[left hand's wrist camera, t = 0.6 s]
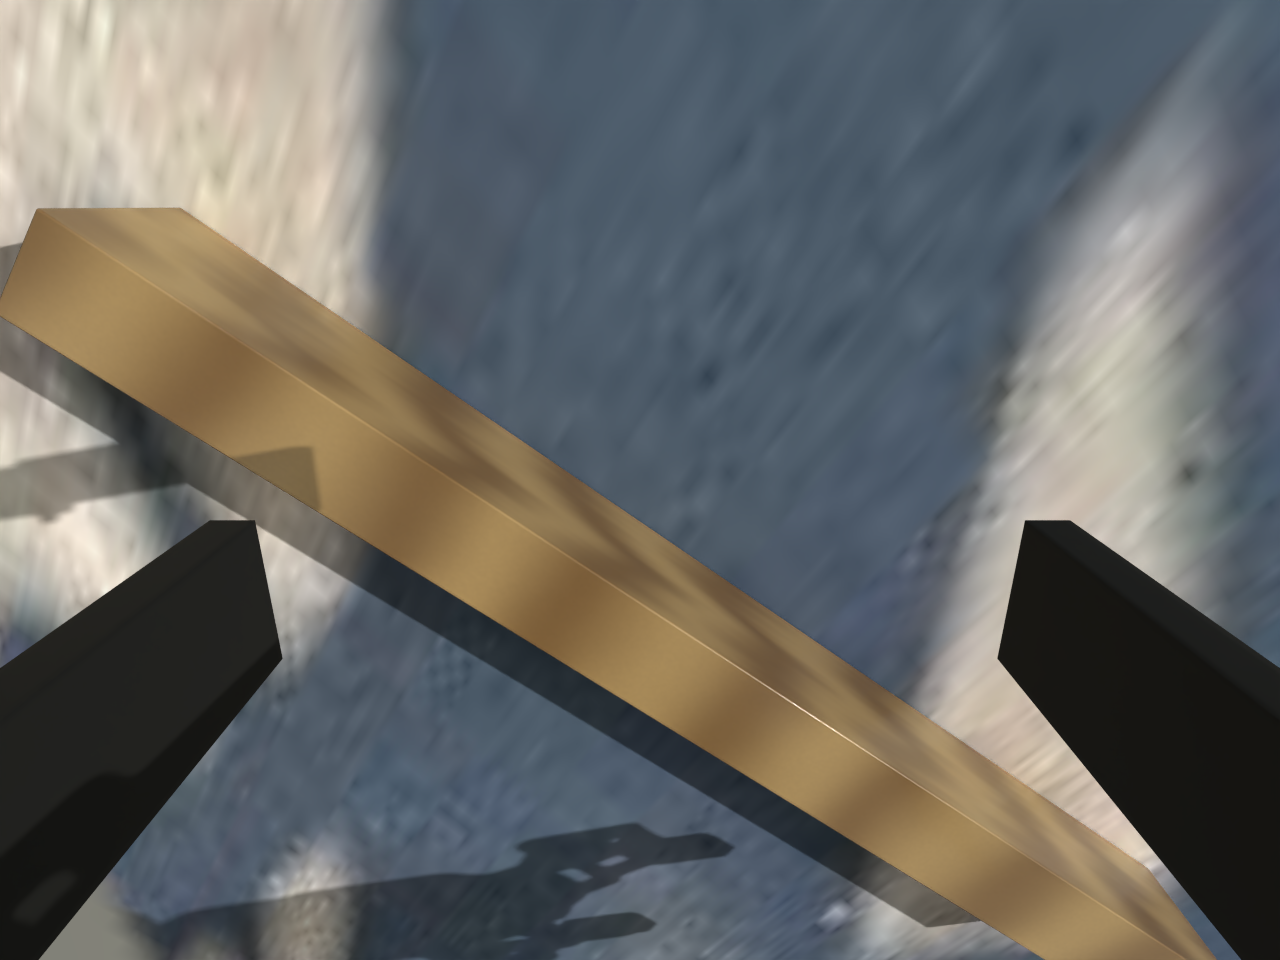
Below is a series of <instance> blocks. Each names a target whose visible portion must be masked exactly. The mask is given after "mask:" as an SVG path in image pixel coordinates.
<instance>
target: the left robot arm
mask: <svg viewBox="0 0 1280 960" xmlns="http://www.w3.org/2000/svg"><path fill="white" fill-rule="evenodd" d="M282 659H283V658H282V653H281V648H280V643H279V638H278V633H277V628H276V624H275V619H274V614H273V609H272V604H271V599H270V594H269V589H268V584H267V579H266V574H265V569H264V564H263V559H262V554H261V549H260V544H259V539H258V534H257V529H256V524H255V520H210V521H208V522H207V523H206V524H204V525H203V526H201V527H200V528H198V529H197V530H196V531H194V532H193V533H191V534H190V535H189V536H187V537H186V538H184V539H183V540H181V541H180V542H179V543H177V544H176V545H174V546H173V547H172V548H170V549H169V550H167V551H166V552H164V553H163V554H162V555H160V556H159V557H157V558H156V559H154V560H153V561H152V562H150V563H149V564H147V565H146V566H145V567H143V568H142V569H140V570H139V571H137V572H136V573H135V574H133V575H132V576H130V577H129V578H128V579H126V580H125V581H123V582H122V583H120V584H119V585H118V586H116V587H115V588H113V589H112V590H111V591H109V592H108V593H106V594H105V595H103V596H102V597H101V598H99V599H98V600H96V601H95V602H93V603H92V604H91V605H89V606H88V607H86V608H85V609H84V610H82V611H81V612H79V613H78V614H76V615H75V616H74V617H72V618H71V619H69V620H68V621H67V622H65V623H64V624H62V625H61V626H59V627H58V628H57V629H55V630H54V631H52V632H51V633H49V634H48V635H47V636H45V637H44V638H42V639H41V640H40V641H38V642H37V643H35V644H34V645H32V646H31V647H30V648H28V649H27V650H25V651H24V652H23V653H21V654H20V655H18V656H17V657H15V658H14V659H13V660H11V661H10V662H8V663H7V664H6V665H4V666H3V667H1V668H0V960H39V959H40V957H41V956H42V955H43V954H44V952H45V951H46V950H47V949H48V947H49V946H50V945H51V944H52V943H53V941H54V940H55V939H56V938H57V936H58V935H59V934H60V933H61V931H62V930H63V929H64V928H65V926H66V925H67V924H68V923H69V922H70V920H71V919H72V918H73V917H74V915H75V914H76V913H77V912H78V910H79V909H80V908H81V907H82V905H83V904H84V903H85V902H86V901H87V899H88V898H89V897H90V896H91V894H92V893H93V892H94V891H95V889H96V888H97V887H98V886H99V885H100V883H101V882H102V881H103V880H104V878H105V877H106V876H107V875H108V873H109V872H110V871H111V870H112V868H113V867H114V866H115V865H116V864H117V862H118V861H119V860H120V859H121V857H122V856H123V855H124V854H125V852H126V851H127V850H128V849H129V847H130V846H131V845H132V844H133V843H134V841H135V840H136V839H137V838H138V836H139V835H140V834H141V833H142V831H143V830H144V829H145V828H146V826H147V825H148V824H149V823H150V822H151V820H152V819H153V818H154V817H155V815H156V814H157V813H158V812H159V810H160V809H161V808H162V807H163V806H164V804H165V803H166V802H167V801H168V799H169V798H170V797H171V796H172V794H173V793H174V792H175V791H176V789H177V788H178V787H179V786H180V785H181V783H182V782H183V781H184V780H185V778H186V777H187V776H188V775H189V773H190V772H191V771H192V770H193V768H194V767H195V766H196V765H197V764H198V762H199V761H200V760H201V759H202V757H203V756H204V755H205V754H206V752H207V751H208V750H209V749H210V747H211V746H212V745H213V744H214V743H215V741H216V740H217V739H218V738H219V736H220V735H221V734H222V733H223V731H224V730H225V729H226V728H227V727H228V725H229V724H230V723H231V722H232V720H233V719H234V718H235V717H236V715H237V714H238V713H239V712H240V710H241V709H242V708H243V707H244V706H245V704H246V703H247V702H248V701H249V699H250V698H251V697H252V696H253V694H254V693H255V692H256V691H257V689H258V688H259V687H260V686H261V685H262V683H263V682H264V681H265V680H266V678H267V677H268V676H269V675H270V673H271V672H272V671H273V670H274V668H275V667H276V666H277V665H278V664H279V662H280V661H281V660H282ZM997 659H998V660H999V661H1000V662H1001V664H1002V665H1003V666H1004V667H1005V668H1006V670H1007V671H1008V672H1009V673H1010V675H1011V676H1012V677H1013V678H1014V680H1015V681H1016V682H1017V683H1018V685H1019V686H1020V687H1021V688H1022V689H1023V691H1024V692H1025V693H1026V694H1027V696H1028V697H1029V698H1030V699H1031V701H1032V702H1033V703H1034V704H1035V706H1036V707H1037V708H1038V709H1039V710H1040V712H1041V713H1042V714H1043V715H1044V717H1045V718H1046V719H1047V720H1048V722H1049V723H1050V724H1051V725H1052V727H1053V728H1054V729H1055V730H1056V731H1057V733H1058V734H1059V735H1060V736H1061V738H1062V739H1063V740H1064V741H1065V743H1066V744H1067V745H1068V746H1069V747H1070V749H1071V750H1072V751H1073V752H1074V754H1075V755H1076V756H1077V757H1078V759H1079V760H1080V761H1081V762H1082V764H1083V765H1084V766H1085V767H1086V768H1087V770H1088V771H1089V772H1090V773H1091V775H1092V776H1093V777H1094V778H1095V780H1096V781H1097V782H1098V783H1099V785H1100V786H1101V787H1102V788H1103V789H1104V791H1105V792H1106V793H1107V794H1108V796H1109V797H1110V798H1111V799H1112V801H1113V802H1114V803H1115V804H1116V806H1117V807H1118V808H1119V809H1120V810H1121V812H1122V813H1123V814H1124V815H1125V817H1126V818H1127V819H1128V820H1129V822H1130V823H1131V824H1132V825H1133V826H1134V828H1135V829H1136V830H1137V831H1138V833H1139V834H1140V835H1141V836H1142V838H1143V839H1144V840H1145V841H1146V843H1147V844H1148V845H1149V846H1150V847H1151V849H1152V850H1153V851H1154V852H1155V854H1156V855H1157V856H1158V857H1159V859H1160V860H1161V861H1162V862H1163V864H1164V865H1165V866H1166V867H1167V868H1168V870H1169V871H1170V872H1171V873H1172V875H1173V876H1174V877H1175V878H1176V880H1177V881H1178V882H1179V883H1180V885H1181V886H1182V887H1183V888H1184V889H1185V891H1186V892H1187V893H1188V894H1189V896H1190V897H1191V898H1192V899H1193V901H1194V902H1195V903H1196V904H1197V905H1198V907H1199V908H1200V909H1201V910H1202V912H1203V913H1204V914H1205V915H1206V917H1207V918H1208V919H1209V920H1210V922H1211V923H1212V924H1213V925H1214V926H1215V928H1216V929H1217V930H1218V931H1219V933H1220V934H1221V935H1222V936H1223V938H1224V939H1225V940H1226V941H1227V943H1228V944H1229V945H1230V946H1231V947H1232V949H1233V950H1234V951H1235V952H1236V954H1237V955H1238V956H1239V957H1240V959H1241V960H1280V668H1279V667H1277V666H1276V665H1274V664H1273V663H1272V662H1270V661H1269V660H1267V659H1266V658H1265V657H1263V656H1262V655H1260V654H1259V653H1257V652H1256V651H1255V650H1253V649H1252V648H1250V647H1249V646H1248V645H1246V644H1245V643H1243V642H1242V641H1240V640H1239V639H1238V638H1236V637H1235V636H1233V635H1232V634H1230V633H1229V632H1228V631H1226V630H1225V629H1223V628H1222V627H1221V626H1219V625H1218V624H1216V623H1215V622H1213V621H1212V620H1211V619H1209V618H1208V617H1206V616H1205V615H1204V614H1202V613H1201V612H1199V611H1198V610H1196V609H1195V608H1194V607H1192V606H1191V605H1189V604H1188V603H1187V602H1185V601H1184V600H1182V599H1181V598H1179V597H1178V596H1177V595H1175V594H1174V593H1172V592H1171V591H1169V590H1168V589H1167V588H1165V587H1164V586H1162V585H1161V584H1160V583H1158V582H1157V581H1155V580H1154V579H1152V578H1151V577H1150V576H1148V575H1147V574H1145V573H1144V572H1143V571H1141V570H1140V569H1138V568H1137V567H1135V566H1134V565H1133V564H1131V563H1130V562H1128V561H1127V560H1126V559H1124V558H1123V557H1121V556H1120V555H1118V554H1117V553H1116V552H1114V551H1113V550H1111V549H1110V548H1108V547H1107V546H1106V545H1104V544H1103V543H1101V542H1100V541H1099V540H1097V539H1096V538H1094V537H1093V536H1091V535H1090V534H1089V533H1087V532H1086V531H1084V530H1083V529H1082V528H1080V527H1079V526H1077V525H1076V524H1074V523H1073V522H1072V521H1070V520H1025V524H1024V529H1023V534H1022V539H1021V544H1020V549H1019V554H1018V559H1017V564H1016V569H1015V574H1014V579H1013V584H1012V589H1011V594H1010V599H1009V604H1008V609H1007V614H1006V619H1005V623H1004V628H1003V633H1002V638H1001V643H1000V648H999V653H998V658H997Z"/></svg>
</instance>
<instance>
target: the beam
mask: <svg viewBox="0 0 1280 960" xmlns="http://www.w3.org/2000/svg"><path fill="white" fill-rule="evenodd" d="M0 317H2V318H4V319H5V320H7V321H9V322H10V323H12V324H13V325H15V326H17V327H18V328H20V329H22V330H23V331H25V332H26V333H28V334H30V335H31V336H33V337H35V338H36V339H38V340H39V341H41V342H43V343H44V344H46V345H47V346H49V347H51V348H52V349H54V350H56V351H57V352H59V353H60V354H62V355H64V356H65V357H67V358H69V359H70V360H72V361H73V362H75V363H77V364H78V365H80V366H82V367H83V368H85V369H86V370H88V371H90V372H91V373H93V374H95V375H96V376H98V377H99V378H101V379H103V380H104V381H106V382H108V383H109V384H111V385H112V386H114V387H116V388H117V389H119V390H121V391H122V392H124V393H125V394H127V395H129V396H130V397H132V398H134V399H135V400H137V401H138V402H140V403H142V404H143V405H145V406H147V407H148V408H150V409H151V410H153V411H155V412H156V413H158V414H160V415H161V416H163V417H164V418H166V419H168V420H169V421H171V422H173V423H174V424H176V425H177V426H179V427H181V428H182V429H184V430H186V431H187V432H189V433H190V434H192V435H194V436H195V437H197V438H199V439H200V440H202V441H203V442H205V443H207V444H208V445H210V446H212V447H213V448H215V449H216V450H218V451H220V452H221V453H223V454H224V455H226V456H228V457H229V458H231V459H233V460H234V461H236V462H237V463H239V464H241V465H242V466H244V467H246V468H247V469H249V470H250V471H252V472H254V473H255V474H257V475H259V476H260V477H262V478H263V479H265V480H267V481H268V482H270V483H272V484H273V485H275V486H276V487H278V488H280V489H281V490H283V491H285V492H286V493H288V494H289V495H291V496H293V497H294V498H296V499H298V500H299V501H301V502H302V503H304V504H306V505H307V506H309V507H311V508H312V509H314V510H315V511H317V512H319V513H320V514H322V515H324V516H325V517H327V518H328V519H330V520H332V521H333V522H335V523H337V524H338V525H340V526H341V527H343V528H345V529H346V530H348V531H350V532H351V533H353V534H354V535H356V536H358V537H359V538H361V539H363V540H364V541H366V542H367V543H369V544H371V545H372V546H374V547H376V548H377V549H379V550H380V551H382V552H384V553H385V554H387V555H389V556H390V557H392V558H393V559H395V560H397V561H398V562H400V563H401V564H403V565H405V566H406V567H408V568H410V569H411V570H413V571H414V572H416V573H418V574H419V575H421V576H423V577H424V578H426V579H427V580H429V581H431V582H432V583H434V584H436V585H437V586H439V587H440V588H442V589H444V590H445V591H447V592H449V593H450V594H452V595H453V596H455V597H457V598H458V599H460V600H462V601H463V602H465V603H466V604H468V605H470V606H471V607H473V608H475V609H476V610H478V611H479V612H481V613H483V614H484V615H486V616H488V617H489V618H491V619H492V620H494V621H496V622H497V623H499V624H501V625H502V626H504V627H505V628H507V629H509V630H510V631H512V632H514V633H515V634H517V635H518V636H520V637H522V638H523V639H525V640H527V641H528V642H530V643H531V644H533V645H535V646H536V647H538V648H540V649H541V650H543V651H544V652H546V653H548V654H549V655H551V656H553V657H554V658H556V659H557V660H559V661H561V662H562V663H564V664H566V665H567V666H569V667H570V668H572V669H574V670H575V671H577V672H578V673H580V674H582V675H583V676H585V677H587V678H588V679H590V680H591V681H593V682H595V683H596V684H598V685H600V686H601V687H603V688H604V689H606V690H608V691H609V692H611V693H613V694H614V695H616V696H617V697H619V698H621V699H622V700H624V701H626V702H627V703H629V704H630V705H632V706H634V707H635V708H637V709H639V710H640V711H642V712H643V713H645V714H647V715H648V716H650V717H652V718H653V719H655V720H656V721H658V722H660V723H661V724H663V725H665V726H666V727H668V728H669V729H671V730H673V731H674V732H676V733H678V734H679V735H681V736H682V737H684V738H686V739H687V740H689V741H691V742H692V743H694V744H695V745H697V746H699V747H700V748H702V749H704V750H705V751H707V752H708V753H710V754H712V755H713V756H715V757H717V758H718V759H720V760H721V761H723V762H725V763H726V764H728V765H730V766H731V767H733V768H734V769H736V770H738V771H739V772H741V773H743V774H744V775H746V776H747V777H749V778H751V779H752V780H754V781H755V782H757V783H759V784H760V785H762V786H764V787H765V788H767V789H768V790H770V791H772V792H773V793H775V794H777V795H778V796H780V797H781V798H783V799H785V800H786V801H788V802H790V803H791V804H793V805H794V806H796V807H798V808H799V809H801V810H803V811H804V812H806V813H807V814H809V815H811V816H812V817H814V818H816V819H817V820H819V821H820V822H822V823H824V824H825V825H827V826H829V827H830V828H832V829H833V830H835V831H837V832H838V833H840V834H842V835H843V836H845V837H846V838H848V839H850V840H851V841H853V842H855V843H856V844H858V845H859V846H861V847H863V848H864V849H866V850H868V851H869V852H871V853H872V854H874V855H876V856H877V857H879V858H881V859H882V860H884V861H885V862H887V863H889V864H890V865H892V866H894V867H895V868H897V869H898V870H900V871H902V872H903V873H905V874H907V875H908V876H910V877H911V878H913V879H915V880H916V881H918V882H920V883H921V884H923V885H924V886H926V887H928V888H929V889H931V890H932V891H934V892H936V893H937V894H939V895H941V896H942V897H944V898H945V899H947V900H949V901H950V902H952V903H954V904H955V905H957V906H958V907H960V908H962V909H963V910H965V911H967V912H968V913H970V914H971V915H973V916H975V917H976V918H978V919H980V920H981V921H983V922H984V923H986V924H988V925H989V926H991V927H993V928H994V929H996V930H997V931H999V932H1001V933H1002V934H1004V935H1006V936H1007V937H1009V938H1010V939H1012V940H1014V941H1015V942H1017V943H1019V944H1020V945H1022V946H1023V947H1025V948H1027V949H1028V950H1030V951H1032V952H1033V953H1035V954H1036V955H1038V956H1040V957H1041V958H1043V959H1045V960H1217V959H1216V958H1215V957H1214V955H1213V954H1212V953H1211V951H1210V950H1209V949H1208V947H1207V946H1206V945H1205V943H1204V942H1203V941H1202V939H1201V938H1200V937H1199V935H1198V934H1197V933H1196V931H1195V930H1194V929H1193V927H1192V926H1191V925H1190V923H1189V922H1188V921H1187V919H1186V918H1185V917H1184V915H1183V914H1182V913H1181V911H1180V910H1179V909H1178V908H1177V906H1176V905H1175V904H1174V902H1173V901H1172V900H1171V898H1170V897H1169V896H1168V894H1167V893H1166V892H1165V890H1164V889H1163V888H1162V886H1161V885H1160V884H1159V882H1158V881H1157V880H1156V878H1155V877H1154V876H1153V874H1152V873H1151V872H1150V870H1149V869H1148V868H1146V867H1145V866H1143V865H1142V864H1141V863H1139V862H1138V861H1136V860H1135V859H1133V858H1132V857H1130V856H1129V855H1127V854H1126V853H1124V852H1123V851H1122V850H1120V849H1119V848H1117V847H1116V846H1114V845H1113V844H1111V843H1110V842H1108V841H1107V840H1105V839H1104V838H1102V837H1101V836H1100V835H1098V834H1097V833H1095V832H1094V831H1092V830H1091V829H1089V828H1088V827H1086V826H1085V825H1083V824H1082V823H1080V822H1079V821H1078V820H1076V819H1075V818H1073V817H1072V816H1070V815H1069V814H1067V813H1066V812H1064V811H1063V810H1061V809H1060V808H1059V807H1057V806H1056V805H1054V804H1053V803H1051V802H1050V801H1048V800H1047V799H1045V798H1044V797H1042V796H1041V795H1039V794H1038V793H1037V792H1035V791H1034V790H1032V789H1031V788H1029V787H1028V786H1026V785H1025V784H1023V783H1022V782H1020V781H1019V780H1018V779H1016V778H1015V777H1013V776H1012V775H1010V774H1009V773H1007V772H1006V771H1004V770H1003V769H1001V768H1000V767H998V766H997V765H996V764H994V763H993V762H991V761H990V760H988V759H987V758H985V757H984V756H982V755H981V754H979V753H978V752H977V751H975V750H974V749H972V748H971V747H969V746H968V745H966V744H965V743H963V742H962V741H960V740H959V739H957V738H956V737H955V736H953V735H952V734H950V733H949V732H947V731H946V730H944V729H943V728H941V727H940V726H938V725H937V724H936V723H934V722H933V721H931V720H930V719H928V718H927V717H925V716H924V715H922V714H921V713H919V712H918V711H916V710H915V709H914V708H912V707H911V706H909V705H908V704H906V703H905V702H903V701H902V700H900V699H899V698H897V697H896V696H894V695H893V694H892V693H890V692H889V691H887V690H886V689H884V688H883V687H881V686H880V685H878V684H877V683H875V682H874V681H873V680H871V679H870V678H868V677H867V676H865V675H864V674H862V673H861V672H859V671H858V670H856V669H855V668H853V667H852V666H851V665H849V664H848V663H846V662H845V661H843V660H842V659H840V658H839V657H837V656H836V655H834V654H833V653H832V652H830V651H829V650H827V649H826V648H824V647H823V646H821V645H820V644H818V643H817V642H815V641H814V640H812V639H811V638H810V637H808V636H807V635H805V634H804V633H802V632H801V631H799V630H798V629H796V628H795V627H793V626H792V625H791V624H789V623H788V622H786V621H785V620H783V619H782V618H780V617H779V616H777V615H776V614H774V613H773V612H771V611H770V610H769V609H767V608H766V607H764V606H763V605H761V604H760V603H758V602H757V601H755V600H754V599H752V598H751V597H750V596H748V595H747V594H745V593H744V592H742V591H741V590H739V589H738V588H736V587H735V586H733V585H732V584H730V583H729V582H728V581H726V580H725V579H723V578H722V577H720V576H719V575H717V574H716V573H714V572H713V571H711V570H710V569H708V568H707V567H706V566H704V565H703V564H701V563H700V562H698V561H697V560H695V559H694V558H692V557H691V556H689V555H688V554H687V553H685V552H684V551H682V550H681V549H679V548H678V547H676V546H675V545H673V544H672V543H670V542H669V541H667V540H666V539H665V538H663V537H662V536H660V535H659V534H657V533H656V532H654V531H653V530H651V529H650V528H648V527H647V526H646V525H644V524H643V523H641V522H640V521H638V520H637V519H635V518H634V517H632V516H631V515H629V514H628V513H626V512H625V511H624V510H622V509H621V508H619V507H618V506H616V505H615V504H613V503H612V502H610V501H609V500H607V499H606V498H605V497H603V496H602V495H600V494H599V493H597V492H596V491H594V490H593V489H591V488H590V487H588V486H587V485H585V484H584V483H583V482H581V481H580V480H578V479H577V478H575V477H574V476H572V475H571V474H569V473H568V472H566V471H565V470H564V469H562V468H561V467H559V466H558V465H556V464H555V463H553V462H552V461H550V460H549V459H547V458H546V457H544V456H543V455H542V454H540V453H539V452H537V451H536V450H534V449H533V448H531V447H530V446H528V445H527V444H525V443H524V442H522V441H521V440H520V439H518V438H517V437H515V436H514V435H512V434H511V433H509V432H508V431H506V430H505V429H503V428H502V427H501V426H499V425H498V424H496V423H495V422H493V421H492V420H490V419H489V418H487V417H486V416H484V415H483V414H481V413H480V412H479V411H477V410H476V409H474V408H473V407H471V406H470V405H468V404H467V403H465V402H464V401H462V400H461V399H460V398H458V397H457V396H455V395H454V394H452V393H451V392H449V391H448V390H446V389H445V388H443V387H442V386H440V385H439V384H438V383H436V382H435V381H433V380H432V379H430V378H429V377H427V376H426V375H424V374H423V373H421V372H420V371H419V370H417V369H416V368H414V367H413V366H411V365H410V364H408V363H407V362H405V361H404V360H402V359H401V358H399V357H398V356H397V355H395V354H394V353H392V352H391V351H389V350H388V349H386V348H385V347H383V346H382V345H380V344H379V343H378V342H376V341H375V340H373V339H372V338H370V337H369V336H367V335H366V334H364V333H363V332H361V331H360V330H358V329H357V328H356V327H354V326H353V325H351V324H350V323H348V322H347V321H345V320H344V319H342V318H341V317H339V316H338V315H336V314H335V313H334V312H332V311H331V310H329V309H328V308H326V307H325V306H323V305H322V304H320V303H319V302H317V301H316V300H315V299H313V298H312V297H310V296H309V295H307V294H306V293H304V292H303V291H301V290H300V289H298V288H297V287H295V286H294V285H293V284H291V283H290V282H288V281H287V280H285V279H284V278H282V277H281V276H279V275H278V274H276V273H275V272H274V271H272V270H271V269H269V268H268V267H266V266H265V265H263V264H262V263H260V262H259V261H257V260H256V259H254V258H253V257H252V256H250V255H249V254H247V253H246V252H244V251H243V250H241V249H240V248H238V247H237V246H235V245H234V244H233V243H231V242H230V241H228V240H227V239H225V238H224V237H222V236H221V235H219V234H218V233H216V232H215V231H213V230H212V229H211V228H209V227H208V226H206V225H205V224H203V223H202V222H200V221H199V220H197V219H196V218H194V217H193V216H191V215H190V214H189V213H187V212H186V211H184V210H183V209H181V208H38V209H37V210H36V212H35V214H34V217H33V219H32V221H31V224H30V226H29V229H28V231H27V234H26V236H25V239H24V241H23V244H22V246H21V248H20V251H19V253H18V256H17V258H16V261H15V263H14V266H13V268H12V270H11V273H10V275H9V278H8V280H7V283H6V285H5V288H4V290H3V293H2V295H1V297H0Z"/></svg>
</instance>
